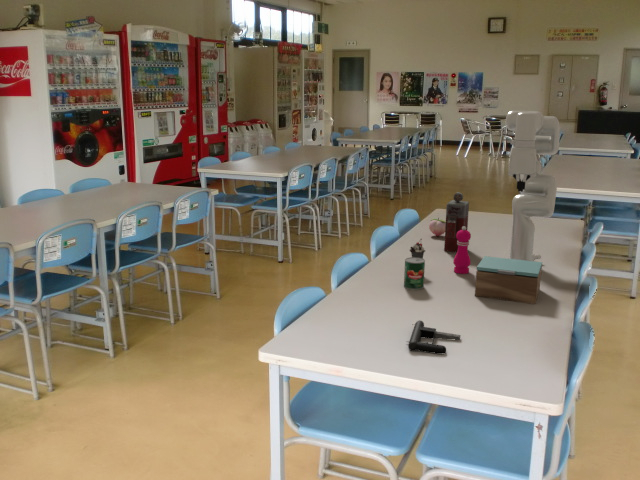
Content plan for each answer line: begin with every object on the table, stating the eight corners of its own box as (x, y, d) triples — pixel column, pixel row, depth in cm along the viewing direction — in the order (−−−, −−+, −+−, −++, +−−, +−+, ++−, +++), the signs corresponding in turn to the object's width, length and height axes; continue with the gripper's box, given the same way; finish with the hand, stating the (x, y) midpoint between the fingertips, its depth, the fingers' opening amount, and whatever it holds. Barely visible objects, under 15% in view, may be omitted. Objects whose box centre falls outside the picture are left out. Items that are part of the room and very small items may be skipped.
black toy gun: (461, 326, 209) (412, 318, 213) (458, 350, 190) (404, 341, 194) (460, 335, 210) (411, 327, 214) (457, 360, 191) (403, 351, 195)
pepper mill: (470, 274, 270) (473, 228, 266) (452, 273, 272) (455, 227, 267) (469, 270, 277) (472, 224, 272) (452, 268, 279) (455, 224, 274)
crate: (482, 282, 260) (484, 259, 258) (539, 289, 252) (541, 265, 249) (474, 296, 244) (476, 271, 242) (535, 304, 236) (537, 278, 233)
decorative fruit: (449, 235, 338) (450, 217, 335) (443, 238, 331) (444, 219, 328) (432, 233, 342) (433, 215, 340) (426, 236, 336) (427, 217, 333)
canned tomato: (411, 290, 250) (412, 263, 247) (399, 285, 257) (400, 258, 254) (427, 287, 254) (429, 261, 251) (416, 282, 260) (417, 256, 258)
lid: (484, 258, 258) (484, 255, 258) (542, 264, 250) (542, 261, 250) (475, 270, 240) (476, 267, 240) (537, 278, 232) (537, 274, 231)
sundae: (425, 271, 274) (427, 237, 271) (423, 276, 268) (424, 241, 264) (410, 270, 276) (411, 236, 273) (407, 274, 270) (408, 240, 267)
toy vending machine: (442, 252, 305) (445, 194, 298) (448, 246, 315) (451, 190, 308) (461, 254, 302) (465, 195, 295) (466, 248, 312) (469, 191, 305)
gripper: (503, 144, 249) (499, 191, 253) (543, 146, 243) (539, 194, 248) (505, 143, 256) (502, 188, 260) (545, 144, 250) (541, 191, 254)
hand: (520, 191), depth 254 cm, fingers closed
